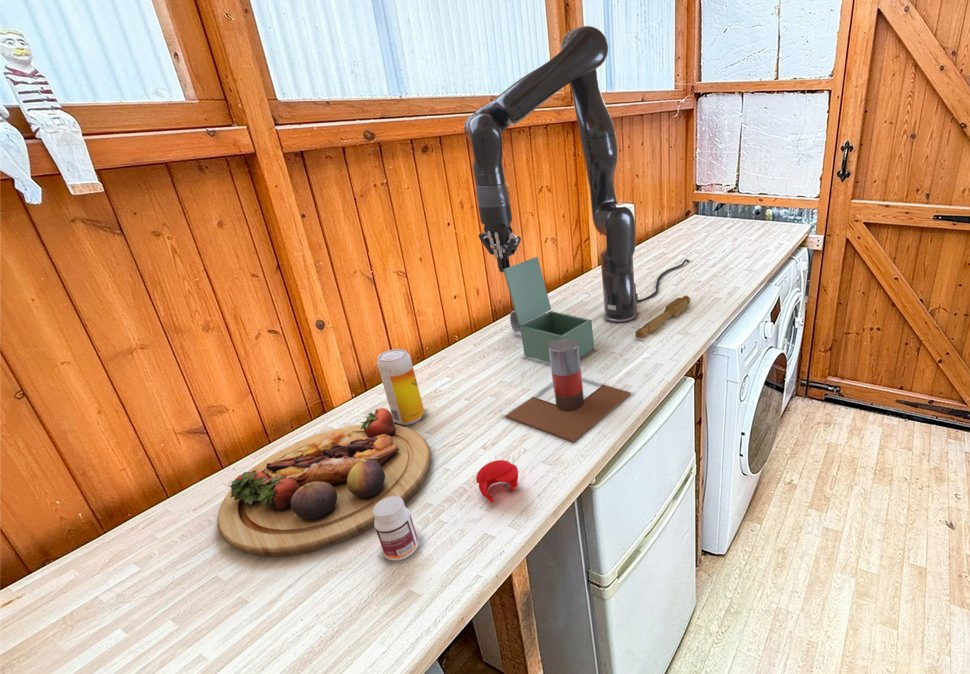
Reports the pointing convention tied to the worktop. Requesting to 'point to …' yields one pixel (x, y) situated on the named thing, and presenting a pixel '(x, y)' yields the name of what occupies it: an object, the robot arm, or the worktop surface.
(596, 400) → the mat
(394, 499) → the pill bottle
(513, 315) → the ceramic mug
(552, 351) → the tin
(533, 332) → the bin
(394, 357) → the beer can
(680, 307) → the tap handle
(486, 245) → the robot arm
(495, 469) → the cap
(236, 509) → the wooden plate
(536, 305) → the bin lid
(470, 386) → the worktop surface
